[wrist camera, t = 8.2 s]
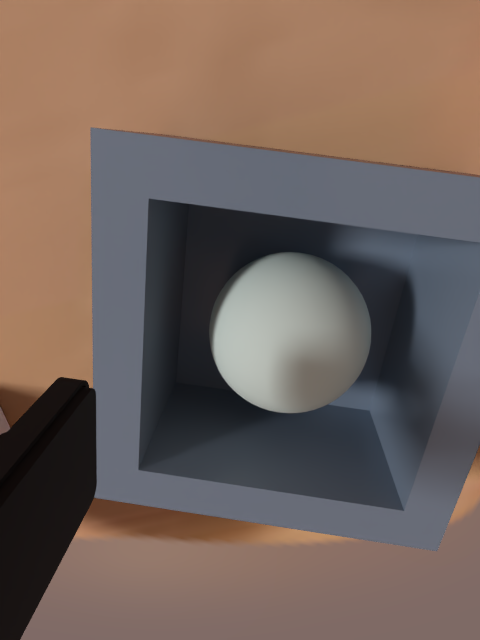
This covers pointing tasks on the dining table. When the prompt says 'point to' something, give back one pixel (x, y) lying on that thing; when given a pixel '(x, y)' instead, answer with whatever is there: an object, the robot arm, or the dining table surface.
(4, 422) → the foam cup
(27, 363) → the dining table surface
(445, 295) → the blue-grey open box
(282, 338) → the ball
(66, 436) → the robot arm
